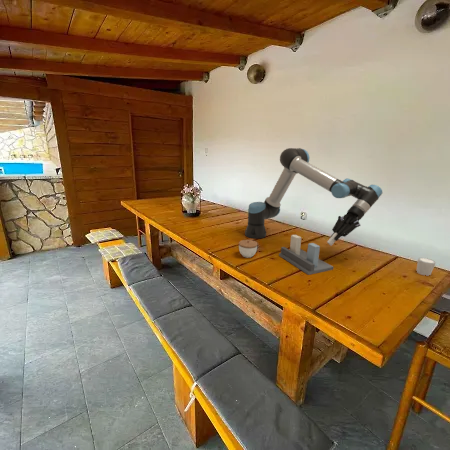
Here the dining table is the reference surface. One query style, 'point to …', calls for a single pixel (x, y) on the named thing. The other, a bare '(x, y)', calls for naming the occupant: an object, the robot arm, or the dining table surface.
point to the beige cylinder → (425, 266)
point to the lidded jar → (248, 248)
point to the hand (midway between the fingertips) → (329, 243)
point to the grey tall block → (313, 253)
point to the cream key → (295, 244)
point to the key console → (304, 261)
